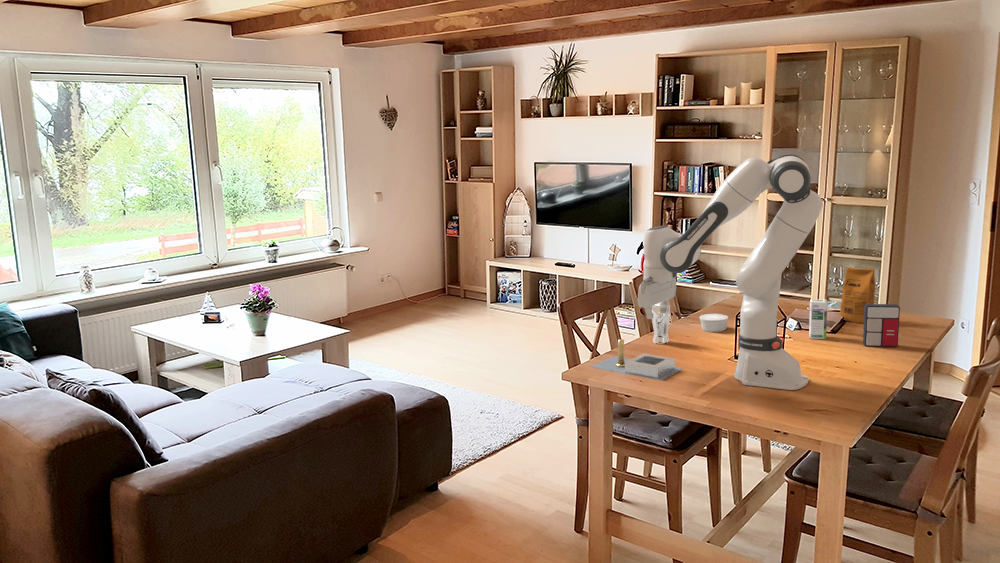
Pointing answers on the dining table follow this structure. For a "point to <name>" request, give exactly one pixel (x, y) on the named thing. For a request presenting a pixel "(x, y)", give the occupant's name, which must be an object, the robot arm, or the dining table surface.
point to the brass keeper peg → (620, 354)
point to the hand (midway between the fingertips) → (656, 315)
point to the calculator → (881, 325)
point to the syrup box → (818, 319)
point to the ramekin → (714, 322)
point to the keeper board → (610, 366)
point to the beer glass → (660, 324)
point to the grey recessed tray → (650, 365)
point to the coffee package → (857, 293)
